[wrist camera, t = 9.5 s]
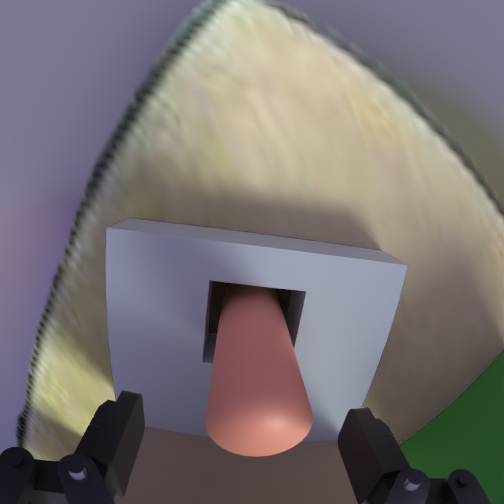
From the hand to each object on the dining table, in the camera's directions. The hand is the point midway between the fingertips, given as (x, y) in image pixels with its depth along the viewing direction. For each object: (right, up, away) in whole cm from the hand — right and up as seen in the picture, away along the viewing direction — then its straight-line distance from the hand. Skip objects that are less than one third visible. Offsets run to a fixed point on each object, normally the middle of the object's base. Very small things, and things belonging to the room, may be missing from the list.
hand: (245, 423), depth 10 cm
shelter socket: (0, 0, +12) cm, 12 cm away
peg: (0, +3, +11) cm, 12 cm away
